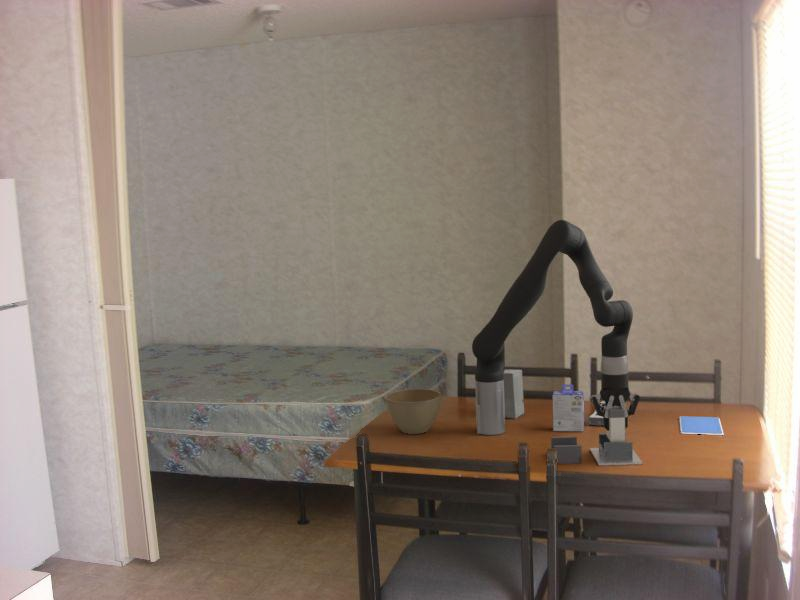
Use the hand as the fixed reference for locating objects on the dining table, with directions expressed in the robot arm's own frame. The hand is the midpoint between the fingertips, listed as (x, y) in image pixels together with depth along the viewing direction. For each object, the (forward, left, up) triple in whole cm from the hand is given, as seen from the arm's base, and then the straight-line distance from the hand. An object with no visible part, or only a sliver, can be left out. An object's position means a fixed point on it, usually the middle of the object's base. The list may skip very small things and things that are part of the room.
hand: (615, 429), depth 232 cm
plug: (0, 0, -3) cm, 3 cm away
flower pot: (-59, +32, -8) cm, 68 cm away
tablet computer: (+32, +28, -9) cm, 44 cm away
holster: (-14, 0, -8) cm, 16 cm away
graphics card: (+6, +42, -9) cm, 44 cm away
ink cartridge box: (-9, +29, -8) cm, 31 cm away
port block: (0, 0, -8) cm, 8 cm away
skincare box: (-26, +48, -8) cm, 55 cm away
